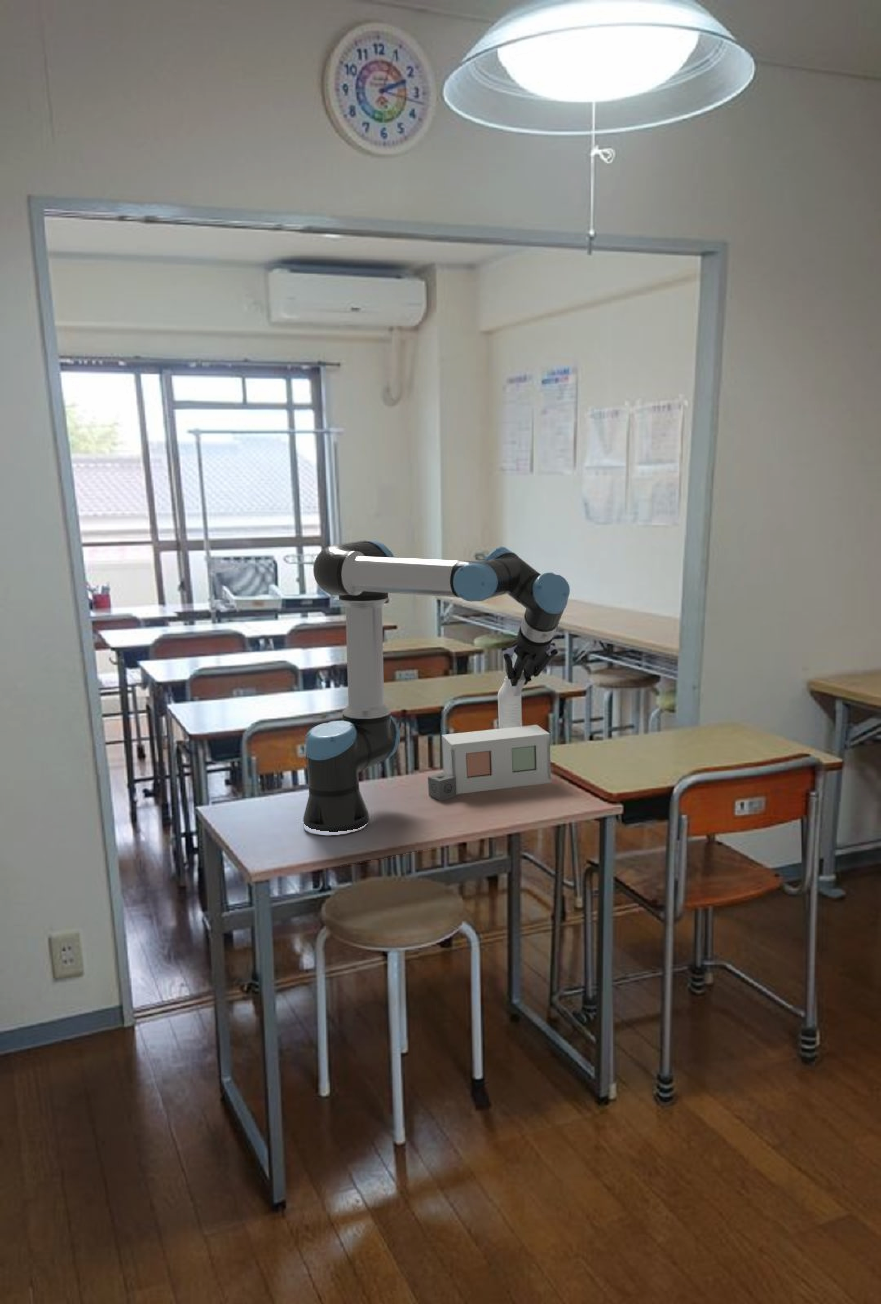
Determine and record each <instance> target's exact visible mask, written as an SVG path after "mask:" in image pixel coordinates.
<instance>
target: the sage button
mask: <svg viewBox="0 0 881 1304" xmlns="http://www.w3.org/2000/svg"><path fill="white" fill-rule="evenodd" d="M528 769H535V753H534V746H528V747H519V748H512V771H520V770H528Z"/></svg>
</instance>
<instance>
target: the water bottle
mask: <svg viewBox="0 0 881 1304" xmlns="http://www.w3.org/2000/svg"><path fill="white" fill-rule="evenodd" d="M510 680H511V679H508V676H507V675H505V676H504V679H503V683H502V685H501V686H500V688H499V689H498V692H497V704H498V705H497V710H498V713H497V714H498V729H502V728H511V727H520V726H523V720H522V719H523V717H522V716H523V714H522V712H523V711H522V693H521V694H520V696H514V695H513V692H512V688H511V681H510Z"/></svg>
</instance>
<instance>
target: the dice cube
mask: <svg viewBox="0 0 881 1304" xmlns="http://www.w3.org/2000/svg"><path fill="white" fill-rule="evenodd" d="M427 787H428V796H429V797H431V798H434V799H436V800H439V801H443V800H447V799H450V798H454V797H457V794H456V777H454V776H452V775H449V774H446V773H444V772H441V773H437V774H433V775H430V776H427Z"/></svg>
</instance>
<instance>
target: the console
mask: <svg viewBox="0 0 881 1304" xmlns="http://www.w3.org/2000/svg"><path fill="white" fill-rule="evenodd" d="M441 743H442V744H441V746H442V747H441V748H442V763H443V764H442V766H443V767H442V768H443V773H446V774H449V775H452V776H454V777H456V795H461V794H470V793H478V792H485V791H491V790H492V791H494V790H501V789H509V788H516V787H517V788H518V787H519V788H520V787H526V786H534V785H535V786H536V785H540V784H541V785H542V784H550V783H552V774H551V773H552V772H551V737H550V733H549V732H548V731H546V730H545V729H543V728H542V727H541V726H539V725H538V724H532V725H522V726H520V727H511V728H502V729H499V728H495V729H494V728H493V729H492V728H491V729H486V730H476V731H467V732H457V733H448V734H447V733H446V734H441ZM528 746H534V753H535V769H528V770H520V771H512V748H519V747H528ZM483 751H489V753H490V774H486V775H478V776H469V777H467V764H466V753H475V752H483Z"/></svg>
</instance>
